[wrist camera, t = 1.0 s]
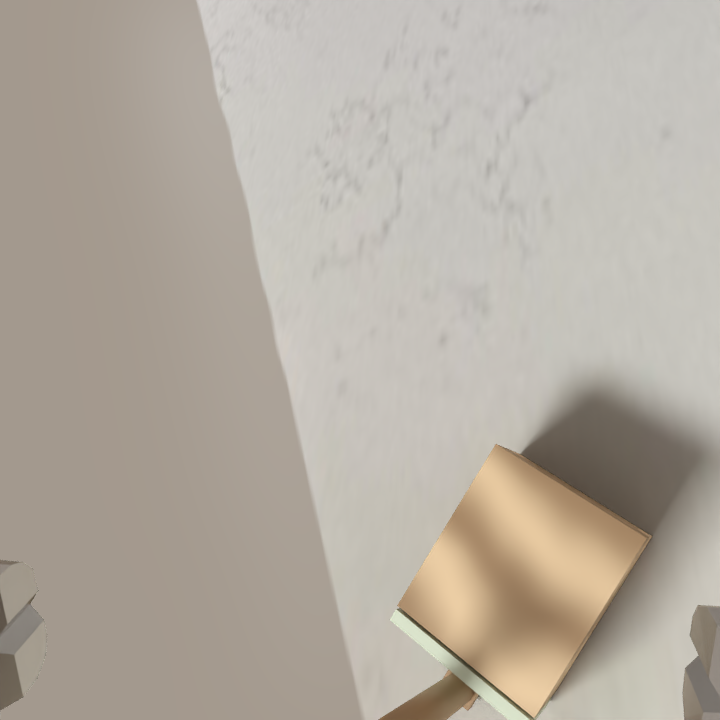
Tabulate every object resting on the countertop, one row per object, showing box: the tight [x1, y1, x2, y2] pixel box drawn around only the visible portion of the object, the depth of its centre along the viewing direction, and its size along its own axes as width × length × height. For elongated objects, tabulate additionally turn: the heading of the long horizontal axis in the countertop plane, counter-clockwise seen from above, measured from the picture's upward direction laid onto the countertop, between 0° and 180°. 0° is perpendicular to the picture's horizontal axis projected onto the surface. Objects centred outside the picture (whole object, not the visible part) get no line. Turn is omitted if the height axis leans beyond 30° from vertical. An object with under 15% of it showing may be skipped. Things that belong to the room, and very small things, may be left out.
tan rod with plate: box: [379, 608, 552, 720], centre depth 40 cm, size 15×10×16 cm, turn 145°
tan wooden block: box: [397, 444, 652, 718], centre depth 44 cm, size 12×10×7 cm
